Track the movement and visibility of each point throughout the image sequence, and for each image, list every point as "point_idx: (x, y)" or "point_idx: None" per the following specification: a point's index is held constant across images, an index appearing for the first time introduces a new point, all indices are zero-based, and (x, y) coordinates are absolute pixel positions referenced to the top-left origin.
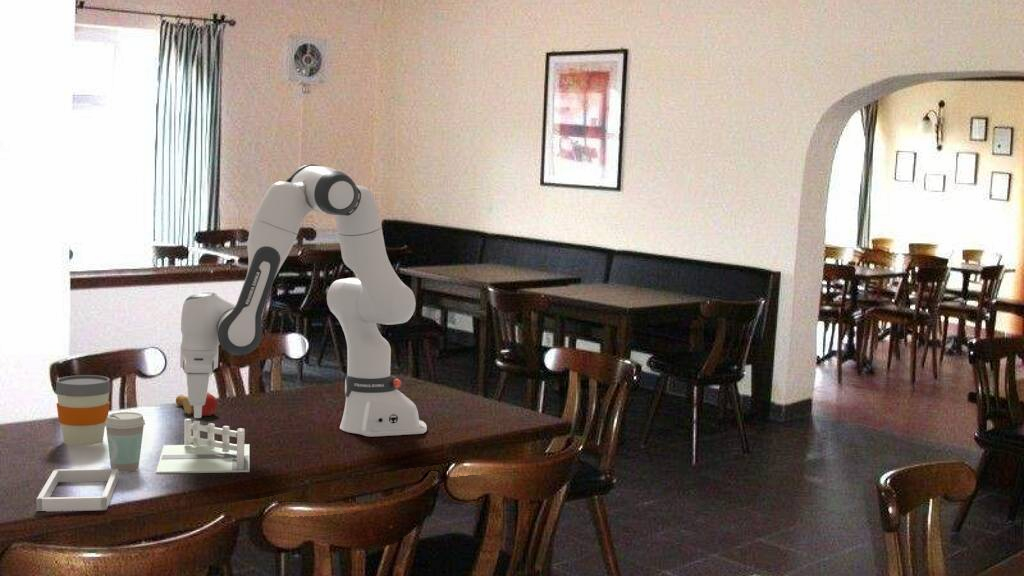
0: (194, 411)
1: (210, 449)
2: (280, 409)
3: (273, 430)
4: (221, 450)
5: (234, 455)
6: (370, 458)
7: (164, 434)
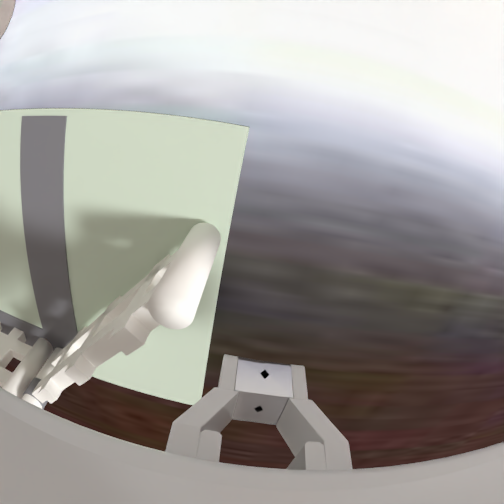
0: (219, 385)
1: None
2: (490, 442)
3: (353, 451)
4: None
5: (65, 341)
6: None
7: (474, 184)
